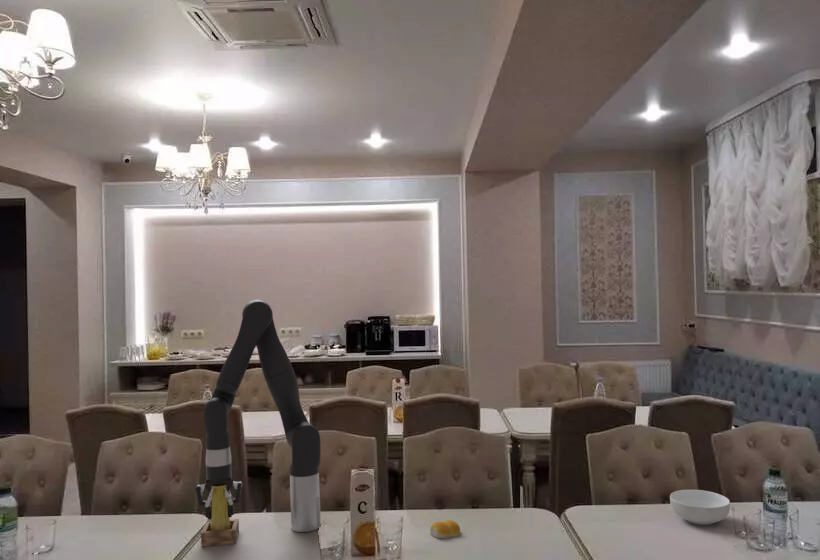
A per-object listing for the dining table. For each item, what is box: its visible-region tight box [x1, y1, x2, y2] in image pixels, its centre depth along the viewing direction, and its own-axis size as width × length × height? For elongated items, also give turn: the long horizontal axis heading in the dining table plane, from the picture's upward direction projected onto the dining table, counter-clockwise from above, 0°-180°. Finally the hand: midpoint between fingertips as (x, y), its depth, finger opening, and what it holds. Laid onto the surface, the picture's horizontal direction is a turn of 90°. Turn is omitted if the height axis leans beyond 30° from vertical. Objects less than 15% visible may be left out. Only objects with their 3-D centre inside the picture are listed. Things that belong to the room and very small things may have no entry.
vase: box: [209, 484, 231, 531], centre depth 196 cm, size 6×6×14 cm
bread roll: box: [429, 519, 461, 539], centre depth 194 cm, size 8×9×4 cm
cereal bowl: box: [669, 489, 731, 526], centre depth 197 cm, size 17×17×7 cm
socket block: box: [200, 518, 240, 548], centre depth 196 cm, size 10×10×4 cm
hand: (219, 517), depth 196 cm, fingers closed on vase, 5 cm apart
